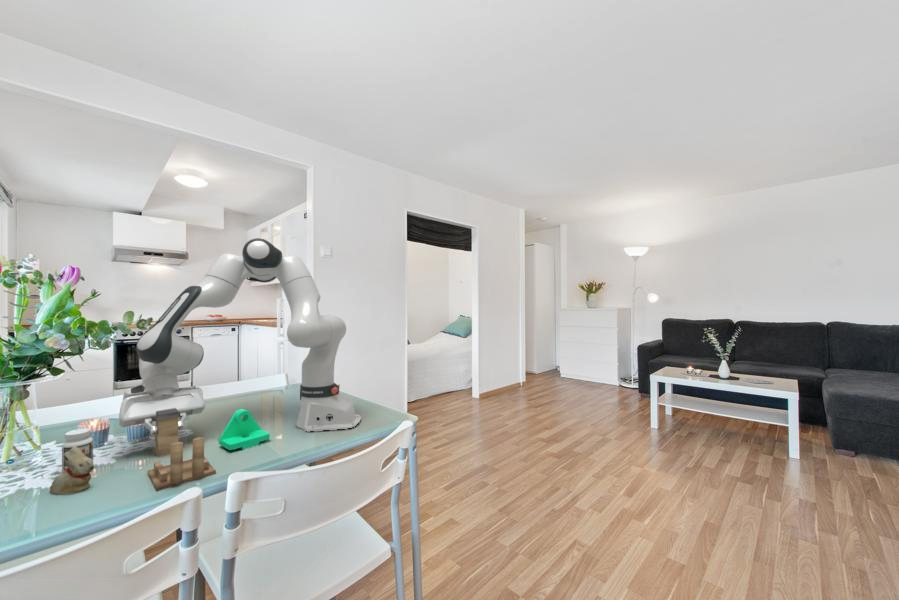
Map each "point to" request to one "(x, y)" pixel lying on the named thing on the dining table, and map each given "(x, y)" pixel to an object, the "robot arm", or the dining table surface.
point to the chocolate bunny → (73, 473)
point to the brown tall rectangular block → (166, 431)
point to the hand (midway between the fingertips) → (167, 431)
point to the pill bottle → (77, 444)
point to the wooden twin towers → (181, 466)
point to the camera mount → (242, 432)
